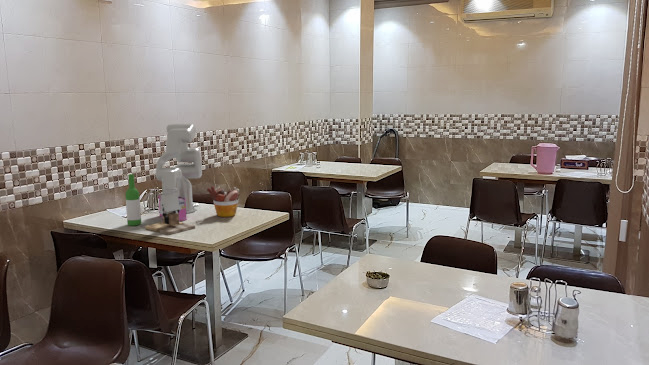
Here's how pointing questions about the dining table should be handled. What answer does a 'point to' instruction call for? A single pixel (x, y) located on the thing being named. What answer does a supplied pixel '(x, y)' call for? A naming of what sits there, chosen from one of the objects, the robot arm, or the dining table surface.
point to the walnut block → (172, 218)
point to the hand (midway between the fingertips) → (171, 222)
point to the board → (177, 228)
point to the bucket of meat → (224, 201)
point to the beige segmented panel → (159, 226)
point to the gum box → (182, 212)
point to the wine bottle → (133, 203)
